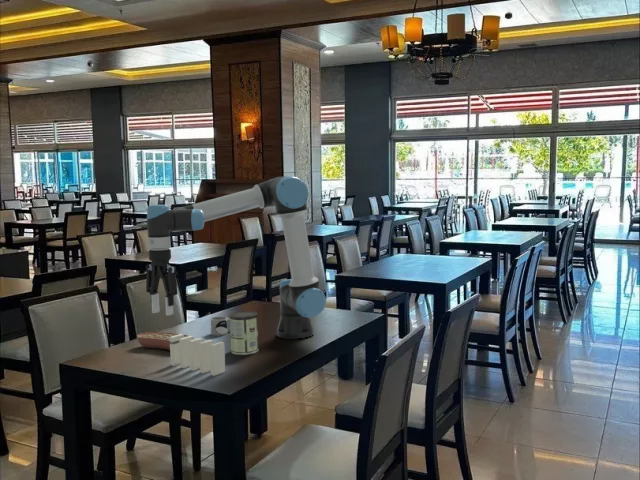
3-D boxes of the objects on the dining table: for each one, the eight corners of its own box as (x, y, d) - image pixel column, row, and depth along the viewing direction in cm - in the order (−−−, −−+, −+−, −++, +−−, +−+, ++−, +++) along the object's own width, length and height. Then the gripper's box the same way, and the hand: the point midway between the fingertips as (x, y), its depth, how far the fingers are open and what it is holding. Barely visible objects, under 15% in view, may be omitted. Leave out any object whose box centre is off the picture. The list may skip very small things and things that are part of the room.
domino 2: (194, 364, 219) (193, 336, 218) (183, 368, 215) (182, 339, 214) (191, 363, 220) (190, 335, 219) (180, 367, 216) (179, 338, 215)
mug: (216, 336, 257) (216, 320, 257) (208, 333, 262) (207, 318, 262) (237, 332, 264) (236, 316, 263) (228, 329, 269) (228, 314, 268)
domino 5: (225, 371, 210) (224, 342, 209) (214, 375, 206) (213, 345, 205) (221, 371, 211) (220, 341, 210) (210, 375, 207) (209, 345, 206)
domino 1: (185, 362, 222) (184, 334, 221) (174, 365, 218) (172, 337, 217) (182, 361, 223) (180, 333, 222) (170, 365, 219) (169, 336, 218)
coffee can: (238, 346, 241) (237, 310, 240) (263, 348, 238) (261, 311, 236) (225, 353, 231) (224, 316, 230) (251, 355, 228) (250, 317, 227)
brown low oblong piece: (132, 349, 241) (132, 336, 241) (150, 342, 250) (149, 330, 250) (181, 355, 232) (180, 341, 231) (197, 348, 241) (196, 335, 240)
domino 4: (214, 369, 213) (213, 340, 212) (203, 373, 209) (202, 343, 208) (211, 368, 214) (210, 339, 213) (200, 372, 210) (198, 343, 209)
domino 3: (204, 367, 216) (203, 338, 215) (193, 370, 212) (192, 341, 211) (201, 366, 217) (200, 337, 216) (190, 369, 213) (188, 340, 212)
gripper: (133, 248, 223) (136, 312, 226) (169, 251, 212) (172, 318, 214) (150, 246, 229) (153, 308, 232) (186, 249, 218) (189, 314, 220)
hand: (162, 313), depth 223 cm, fingers open, 7 cm apart
